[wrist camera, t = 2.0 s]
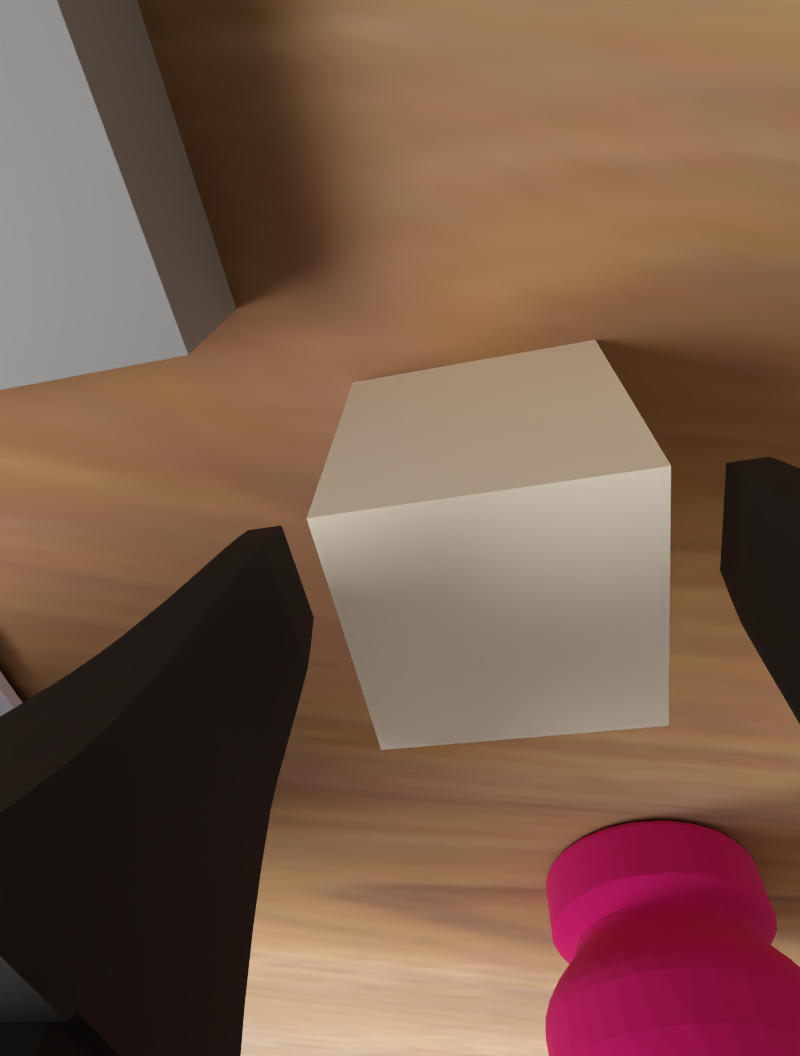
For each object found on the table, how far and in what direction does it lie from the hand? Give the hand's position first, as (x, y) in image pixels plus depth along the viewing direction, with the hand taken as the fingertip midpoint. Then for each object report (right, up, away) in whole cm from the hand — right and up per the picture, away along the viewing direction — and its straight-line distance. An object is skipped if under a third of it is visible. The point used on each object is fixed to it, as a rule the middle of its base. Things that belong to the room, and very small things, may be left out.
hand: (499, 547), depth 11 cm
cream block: (0, +2, +3) cm, 3 cm away
